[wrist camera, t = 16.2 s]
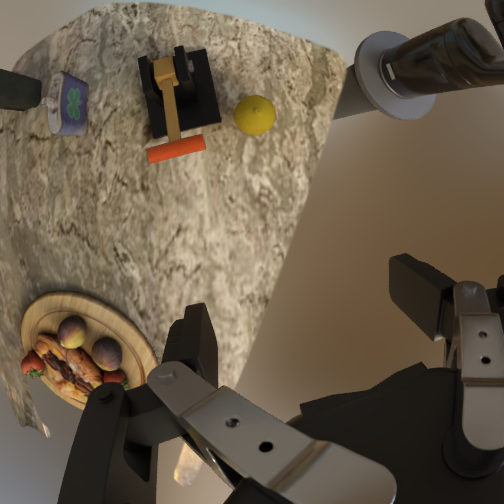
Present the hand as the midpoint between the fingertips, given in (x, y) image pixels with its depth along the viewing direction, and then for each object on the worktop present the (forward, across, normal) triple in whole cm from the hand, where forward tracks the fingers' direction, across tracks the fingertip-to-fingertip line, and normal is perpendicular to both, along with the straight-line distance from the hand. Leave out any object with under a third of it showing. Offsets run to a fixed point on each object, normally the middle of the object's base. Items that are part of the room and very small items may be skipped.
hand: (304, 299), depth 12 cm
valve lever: (+21, +6, -12) cm, 25 cm away
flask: (+34, +22, -20) cm, 45 cm away
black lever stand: (+34, +6, -17) cm, 39 cm away
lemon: (+34, -4, -11) cm, 36 cm away
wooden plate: (+34, +38, +24) cm, 57 cm away
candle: (+34, +32, -27) cm, 54 cm away
